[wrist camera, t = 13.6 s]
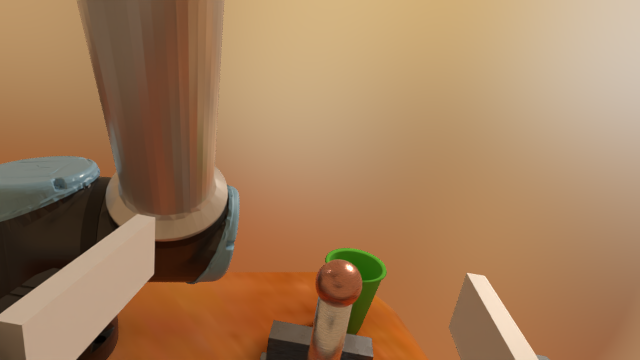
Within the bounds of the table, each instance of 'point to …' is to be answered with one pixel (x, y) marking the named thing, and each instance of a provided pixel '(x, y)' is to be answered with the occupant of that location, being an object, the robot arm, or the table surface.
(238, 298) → the table surface
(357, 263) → the cup
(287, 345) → the base
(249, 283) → the table surface
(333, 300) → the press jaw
